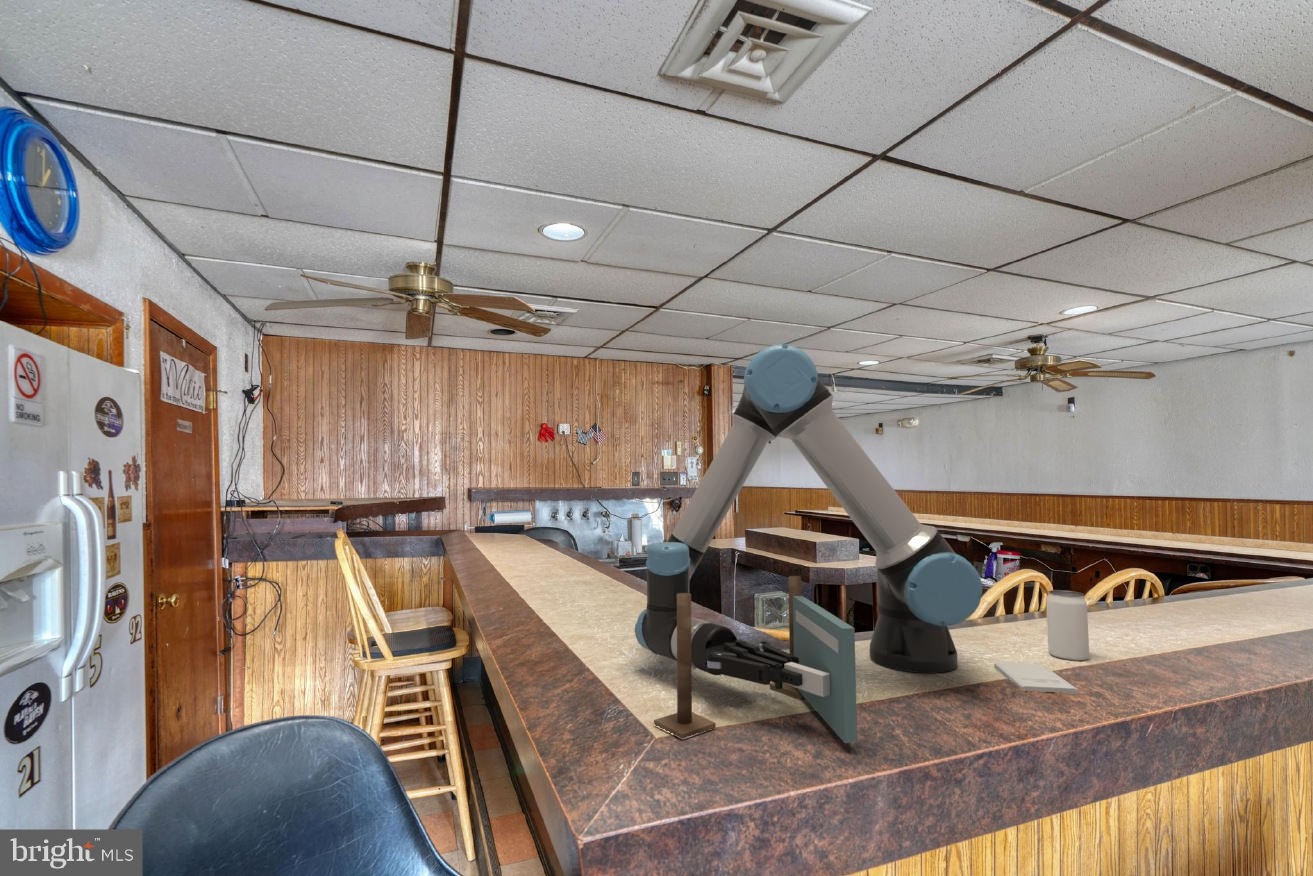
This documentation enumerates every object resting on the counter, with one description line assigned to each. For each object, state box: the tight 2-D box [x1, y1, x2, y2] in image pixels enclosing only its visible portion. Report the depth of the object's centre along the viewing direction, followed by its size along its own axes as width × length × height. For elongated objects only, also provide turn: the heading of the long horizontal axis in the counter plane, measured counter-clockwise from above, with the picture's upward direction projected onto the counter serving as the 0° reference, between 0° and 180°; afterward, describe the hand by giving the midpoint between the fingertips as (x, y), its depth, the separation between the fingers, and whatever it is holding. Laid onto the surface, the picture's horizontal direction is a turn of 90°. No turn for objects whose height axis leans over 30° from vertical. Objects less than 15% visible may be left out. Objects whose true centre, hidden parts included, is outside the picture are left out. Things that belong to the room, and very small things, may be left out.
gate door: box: [793, 595, 858, 744], centre depth 86 cm, size 21×2×14 cm, turn 4°
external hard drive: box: [994, 662, 1080, 695], centre depth 102 cm, size 2×8×12 cm
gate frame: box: [653, 575, 806, 738], centre depth 91 cm, size 30×6×18 cm, turn 128°
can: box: [1046, 589, 1090, 662], centre depth 116 cm, size 6×6×12 cm
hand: (826, 685), depth 80 cm, fingers closed
